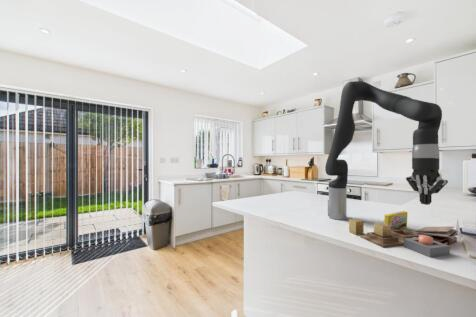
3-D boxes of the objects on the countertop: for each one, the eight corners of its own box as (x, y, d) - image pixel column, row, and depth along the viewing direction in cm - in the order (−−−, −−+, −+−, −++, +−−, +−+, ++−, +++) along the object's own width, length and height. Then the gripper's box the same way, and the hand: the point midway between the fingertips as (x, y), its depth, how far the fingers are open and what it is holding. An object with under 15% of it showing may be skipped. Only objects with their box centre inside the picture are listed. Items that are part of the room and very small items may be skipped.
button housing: (403, 246, 81) (403, 238, 81) (422, 244, 83) (422, 236, 83) (429, 257, 72) (429, 248, 72) (449, 254, 74) (449, 245, 74)
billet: (349, 232, 97) (349, 219, 97) (356, 231, 98) (356, 218, 98) (355, 235, 93) (355, 221, 93) (363, 234, 94) (363, 221, 94)
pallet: (360, 237, 91) (360, 231, 91) (401, 233, 96) (401, 227, 96) (383, 247, 80) (383, 241, 80) (428, 242, 85) (428, 236, 85)
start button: (415, 244, 79) (415, 235, 79) (424, 243, 80) (424, 234, 80) (427, 249, 75) (427, 239, 75) (436, 248, 76) (436, 238, 76)
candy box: (388, 234, 95) (388, 215, 95) (383, 232, 97) (383, 214, 97) (407, 228, 102) (407, 211, 102) (402, 227, 104) (402, 210, 104)
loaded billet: (374, 237, 88) (374, 223, 88) (382, 236, 89) (381, 222, 89) (382, 241, 84) (382, 226, 84) (390, 240, 85) (390, 225, 85)
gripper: (399, 157, 83) (399, 201, 83) (438, 156, 70) (438, 208, 70) (414, 157, 85) (414, 200, 85) (455, 156, 72) (455, 207, 72)
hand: (425, 204), depth 78 cm, fingers closed
